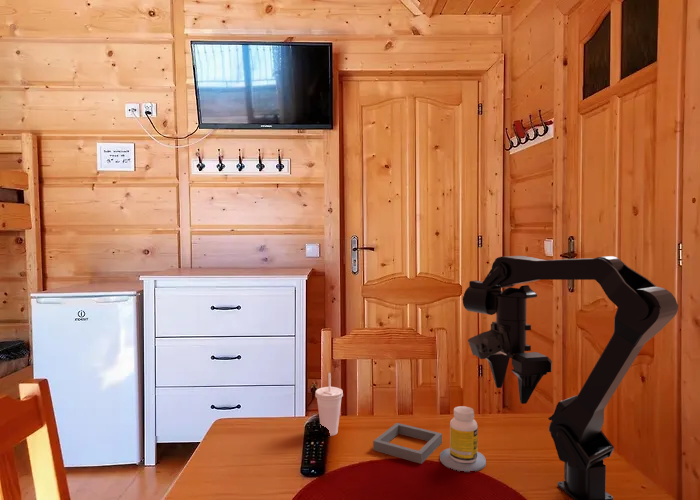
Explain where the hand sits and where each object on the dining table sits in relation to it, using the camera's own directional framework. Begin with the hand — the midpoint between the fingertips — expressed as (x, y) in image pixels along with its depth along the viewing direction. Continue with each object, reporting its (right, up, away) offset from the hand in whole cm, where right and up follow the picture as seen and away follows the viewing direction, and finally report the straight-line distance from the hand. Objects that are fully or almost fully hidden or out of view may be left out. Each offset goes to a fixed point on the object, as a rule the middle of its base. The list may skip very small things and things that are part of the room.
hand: (510, 395), depth 93 cm
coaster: (-10, -13, 0) cm, 16 cm away
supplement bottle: (-10, -13, 0) cm, 16 cm away
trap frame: (-20, -13, +6) cm, 25 cm away
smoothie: (-37, -13, +13) cm, 42 cm away
